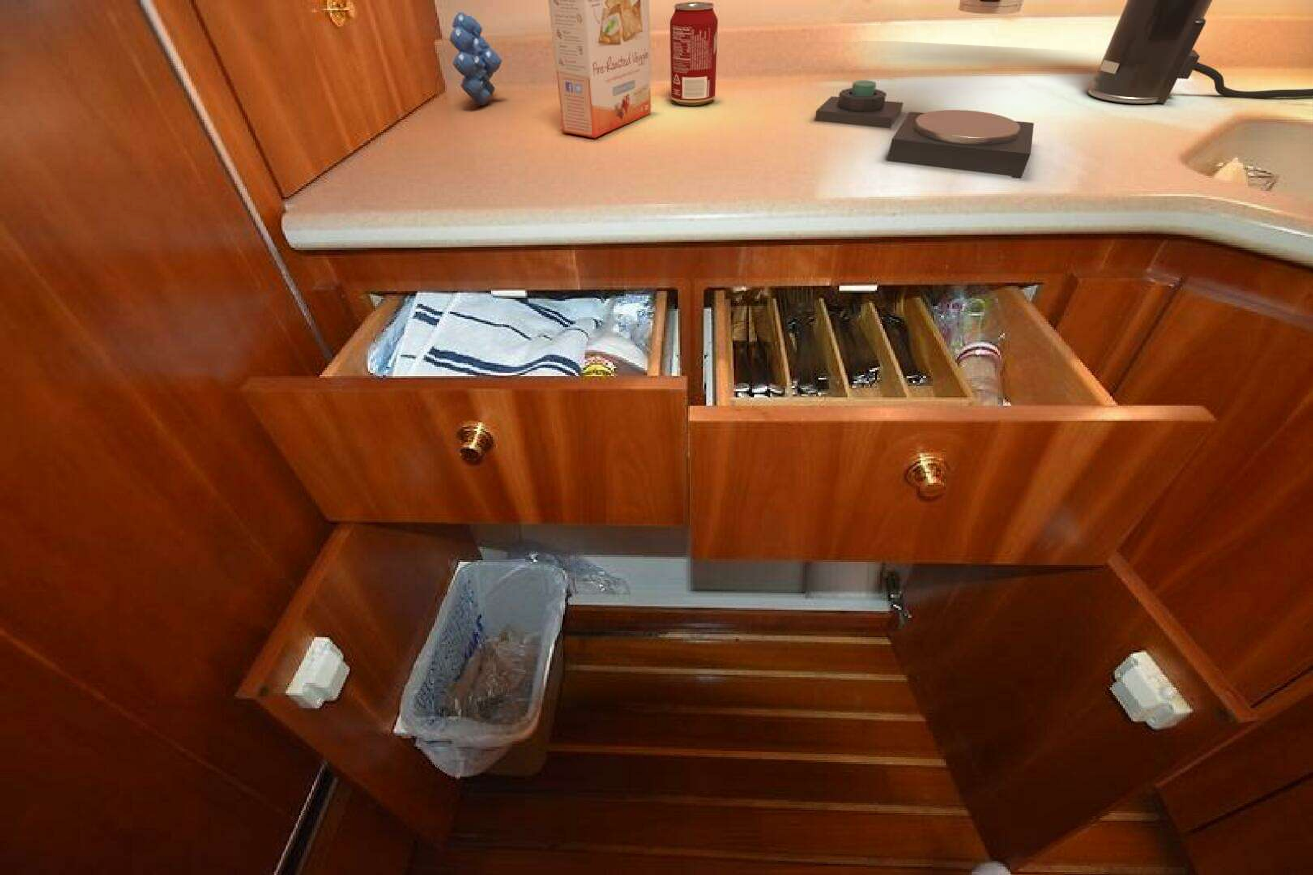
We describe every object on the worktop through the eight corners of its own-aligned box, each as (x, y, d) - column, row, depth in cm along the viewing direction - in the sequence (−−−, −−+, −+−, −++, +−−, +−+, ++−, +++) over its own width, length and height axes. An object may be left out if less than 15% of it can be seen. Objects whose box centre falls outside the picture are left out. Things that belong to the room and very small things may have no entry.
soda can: (711, 107, 86) (715, 7, 78) (666, 106, 87) (665, 8, 79) (717, 96, 91) (721, 1, 83) (675, 95, 92) (674, 1, 84)
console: (900, 113, 82) (906, 89, 80) (890, 129, 76) (895, 103, 74) (829, 107, 85) (833, 83, 83) (814, 121, 80) (818, 96, 78)
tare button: (875, 94, 79) (878, 81, 78) (871, 99, 77) (873, 86, 76) (853, 92, 80) (855, 79, 79) (848, 97, 78) (850, 84, 77)
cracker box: (597, 140, 76) (579, -73, 62) (561, 134, 79) (535, -72, 64) (654, 114, 85) (650, -78, 71) (620, 109, 87) (609, -78, 73)
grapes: (500, 115, 86) (481, 16, 78) (455, 116, 87) (432, 17, 79) (518, 95, 95) (503, 4, 87) (477, 96, 95) (458, 5, 87)
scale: (1025, 145, 70) (1036, 115, 68) (1021, 178, 62) (1034, 145, 60) (904, 133, 75) (911, 104, 73) (886, 161, 67) (893, 130, 65)
